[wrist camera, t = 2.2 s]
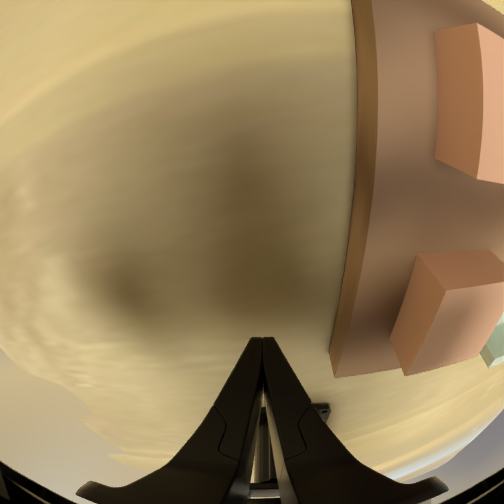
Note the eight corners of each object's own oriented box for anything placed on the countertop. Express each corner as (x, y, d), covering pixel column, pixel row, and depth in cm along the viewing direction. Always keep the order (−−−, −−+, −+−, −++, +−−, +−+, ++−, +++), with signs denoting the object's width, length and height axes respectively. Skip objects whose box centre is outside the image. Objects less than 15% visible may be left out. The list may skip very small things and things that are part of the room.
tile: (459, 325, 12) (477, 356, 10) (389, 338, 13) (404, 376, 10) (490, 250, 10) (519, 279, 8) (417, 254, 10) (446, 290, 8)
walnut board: (472, 327, 15) (483, 345, 14) (328, 351, 16) (334, 377, 14) (526, 50, 5) (548, 52, 4) (346, -30, 6) (361, -49, 4)
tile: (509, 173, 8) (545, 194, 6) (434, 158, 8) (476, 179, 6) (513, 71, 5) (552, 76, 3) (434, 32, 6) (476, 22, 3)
